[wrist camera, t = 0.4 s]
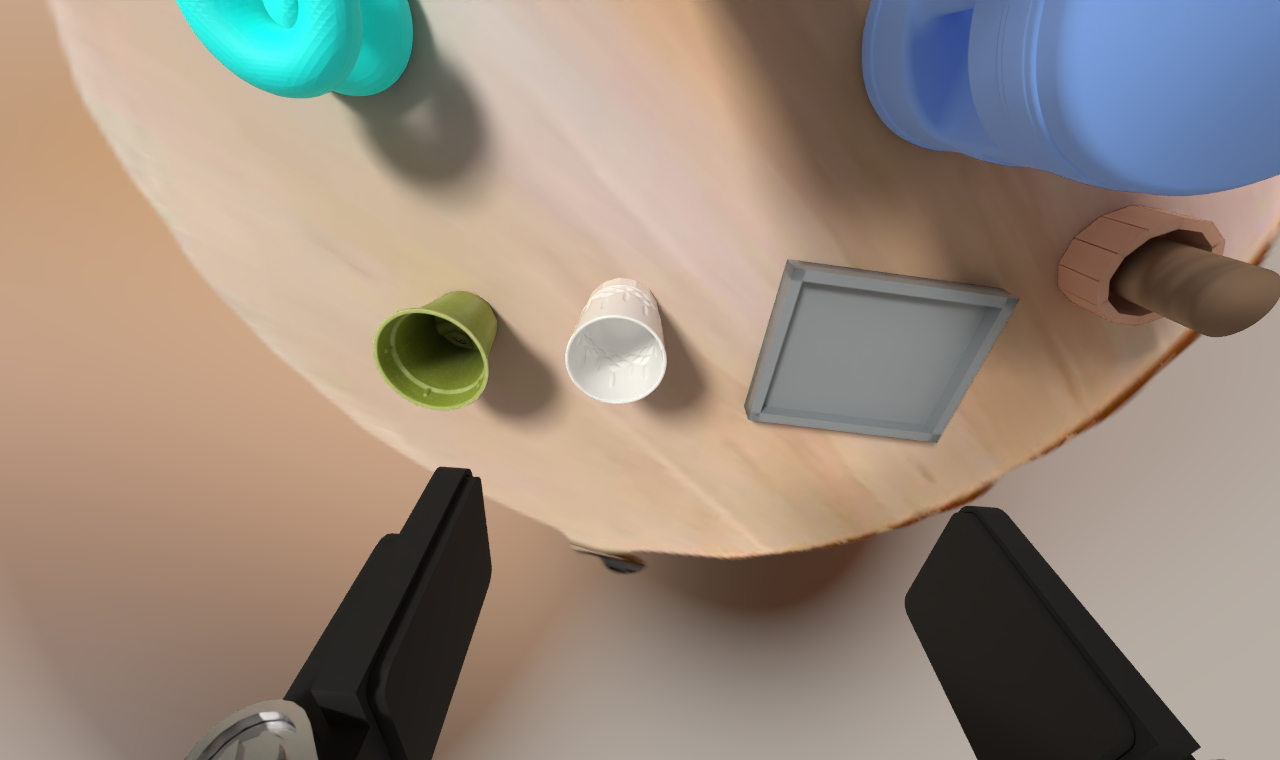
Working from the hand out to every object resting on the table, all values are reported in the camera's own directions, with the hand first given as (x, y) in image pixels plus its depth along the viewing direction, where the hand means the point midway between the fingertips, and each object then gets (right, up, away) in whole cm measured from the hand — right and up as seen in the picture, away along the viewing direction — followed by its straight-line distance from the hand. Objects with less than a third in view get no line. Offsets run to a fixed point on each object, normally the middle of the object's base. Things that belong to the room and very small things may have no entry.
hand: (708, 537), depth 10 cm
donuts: (-22, +29, +25) cm, 45 cm away
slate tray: (+21, +6, +38) cm, 44 cm away
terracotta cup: (+40, +14, +33) cm, 53 cm away
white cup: (-3, +10, +36) cm, 38 cm away
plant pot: (-18, +9, +37) cm, 42 cm away
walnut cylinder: (+40, +14, +32) cm, 53 cm away
